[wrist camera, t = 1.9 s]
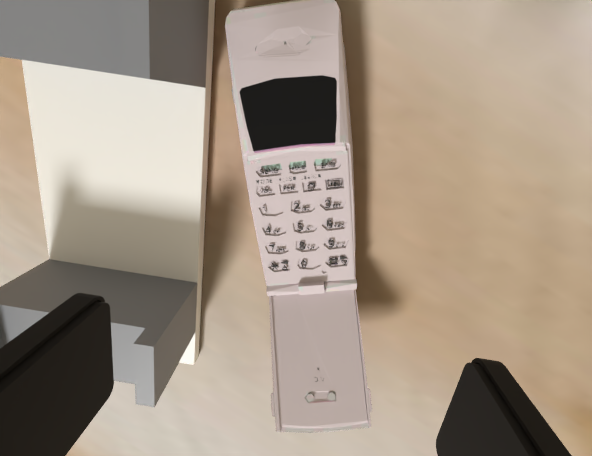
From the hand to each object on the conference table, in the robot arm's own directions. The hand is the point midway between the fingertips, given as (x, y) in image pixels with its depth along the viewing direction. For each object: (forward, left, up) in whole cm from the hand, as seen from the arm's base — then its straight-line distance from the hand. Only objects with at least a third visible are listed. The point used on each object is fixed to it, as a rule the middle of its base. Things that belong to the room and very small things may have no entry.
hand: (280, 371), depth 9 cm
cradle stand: (-1, -11, -13) cm, 17 cm away
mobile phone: (-1, 0, -13) cm, 13 cm away
